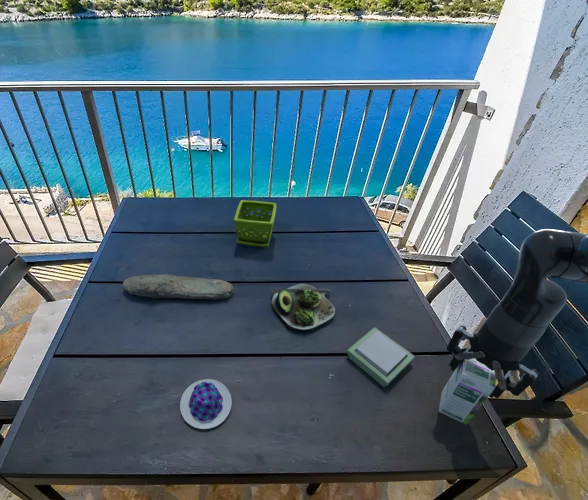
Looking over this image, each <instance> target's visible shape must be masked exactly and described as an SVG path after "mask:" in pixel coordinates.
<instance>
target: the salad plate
mask: <svg viewBox="0 0 588 500" xmlns="http://www.w3.org/2000/svg"><path fill="white" fill-rule="evenodd" d="M269 292H270V293H271V294H272V297H271V305H272V308H273V309H274V311H275V313H276V315H277V316H278V317H279V319H280V321H282V322H283V324H284V325H285V326H286V327H288V328H289V329H291V330H294V331H296V332H308V331H312V330H313V331H314V330H315V329H316V328H317V327H319V326H322V325H324V324H326V323H327V322H328V321H330V320H332V319H333V318H334V316H335V314H336V308H335V306H334V305H333V303H332V302H330V301H329V300H328V298H326V295H327V294H330V293H331V289H329V288H316V287H314V286H313V285H311V284H307V283H299V284H294V285H292V286H289V287H288V288H287V287H286V288H273V289H271V291H269Z"/></svg>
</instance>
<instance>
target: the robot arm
mask: <svg viewBox="0 0 588 500" xmlns="http://www.w3.org/2000/svg"><path fill="white" fill-rule="evenodd" d="M548 278H550V279H551V278H552V279H557V280H563V281H570V282H577V283H583V284H588V233H583V232H575V231H568V230H559V229H552V228H543V229H539V230H536V231H534V232H532V233H530V234H529V235H528V236H527V237H526V238H525V239H524V240H523V241H522V243H521V245H520V248H519V253H518V259H517V265H516V268H515V272H514V276H513V279H512V281H511V284H510V286H509V287H508V290H506V292H505V294H504V296H503V297H502V299H500V301H499V302H498V303H497V304H496V305H495V306H494V307H493V309H492V310H491V311H490V313H489V315H488V316H487V317H486V319H485V321H484V322H483V323H482V325H481V327H480V328H479V330H478V331H477V332H476V333H474V334H473V333H472V332H470V331H468V330H467V327H466V326H465V325H462V324H461V325H460V326H459V327H458V328H456V330H455V331H454V332H453V334H452V336H451V338H450V340H449V342H448V344H447V346H446V351H447V352H449V353H452V355H453V357H452V359H451V360H450V361H449V365H448V366H449V367H450V371H452V372H454V371H455V370H456V368H457V367H458V366H459V365H460V363H461V362H462V360H463V359H467V360H469V359H474V358H475V359H476V360H477V361H478V362H480V363H482V364H484V365H485V366H487V367H488V368H489V369H490V370H492V371H493V370H494V372H495V377H496V381H497V384H495V389H494V390H493V391H492V393H491V394H490V395H489V397H488V398H491V399H493V398H495V399H499V398H500V397H501V396H502V394H503V393H505V391H507V392H510V393H511V395H513V396H515V397H518V396H520V394H522V393H523V392H524V391H526V389H528V388H529V387H530V386H531V385H532V384H533V383H534V382H535V380H536V379H537V378H538V376H539V374H540V372H539V371H538V369H536V368H531V369H530V368H528V367H527V366H525V365H524V364H523V359H524V358H525V357H526V355H528V353H529V352H530V351H531V349H533V347H534V346H535V345H536V343H537V342H538V341H540V340H541V338H542V336H543V335H544V334H545V332H546V330H547V328H548V326H549V325H550V324H551V323H552V322H553V320H554V319H555V318H556V317H557V316H558V314H559V313H560V312H561V311H562V309H564V307H565V305H566V304H567V300H568V295H567V293H566V291H565V290H564V289H563V287H562V286H560V285H559V284H558V283H556V282H554V281H552V280H550V279H548ZM466 340H468V342H469V346H466V347H462V348H461V347H460V343H461V341H462V342H463V341H466ZM511 371H513V372H515V371H518V372H519V373H518V377H519V380H517V382H514V381H512V377H511Z"/></svg>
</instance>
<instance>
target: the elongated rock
mask: <svg viewBox="0 0 588 500" xmlns="http://www.w3.org/2000/svg"><path fill="white" fill-rule="evenodd" d="M121 288H122V289H123V291H124V292H126V293H127V294H129V295H130V296H133V295H134V296H137V297H141V298H143V297H144V298H145V297H146V298H150V299H153V300H155V299H159V300H160V299H178V298H179V299H183V300H184V299H186V300H223V299H228V298H230V297H231V296H232V295H233V294H234V290H235V288H234V286H233V284H231V283H230V282H228V281H226V280H223V279H219V278H218V279H217V278H214V279H213V278H206V277H191V276H183V275H180V276H179V275H175V274H171V273H160V274H157V273H155V274H154V273H152V274H142V275H134V276H129V277H127V278H126V279H124V280H123V282H122V287H121Z"/></svg>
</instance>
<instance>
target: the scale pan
mask: <svg viewBox="0 0 588 500" xmlns="http://www.w3.org/2000/svg"><path fill="white" fill-rule="evenodd" d="M355 352H356V353H358V354H359V355H360V356H361V357H363V358H364V359H365V360H366V361H368V362H369V363H370V364H371V365H373V366H374V367H375V368H376V369H377V370H379V371H380V372H381V373H382V374H384V375H385V376H387V375H388V374H389V373H390V372H391V371H392V370H393V369H394V368H395V367H396V366H397V365H398V364H399V363H400V362H401V361H402V360H403V359H404V358H405V357H406V356H407V354H408V353H407V352H406V351H404V350H403V349H402V348H400V347H399V346H397V345H396V344H395V343H393V342H392V341H391V340H389V339H388V338H387V337H385V336H384V335H382V334H381V333H380V332H378V331H376V332H375V333H374V334H373V335H372V336H370V337H369V338H368V339H367V340H366V341H364V342H363V343H362V344H361V345H360V346H359V347H357V348H356V351H355Z"/></svg>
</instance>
